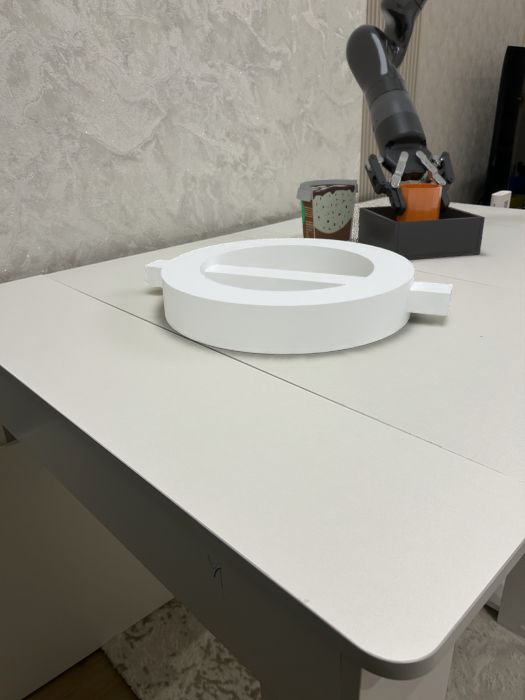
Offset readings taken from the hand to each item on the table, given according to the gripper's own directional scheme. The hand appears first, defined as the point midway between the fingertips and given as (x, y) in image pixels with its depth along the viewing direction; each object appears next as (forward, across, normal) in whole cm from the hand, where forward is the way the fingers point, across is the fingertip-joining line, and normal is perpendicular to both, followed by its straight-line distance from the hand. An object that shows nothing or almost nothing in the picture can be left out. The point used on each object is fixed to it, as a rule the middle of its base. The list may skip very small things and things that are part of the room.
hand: (423, 211), depth 84 cm
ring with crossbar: (+19, -27, -10) cm, 34 cm away
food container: (-2, -14, +10) cm, 18 cm away
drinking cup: (+3, 0, +5) cm, 6 cm away
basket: (+3, 0, +5) cm, 6 cm away
